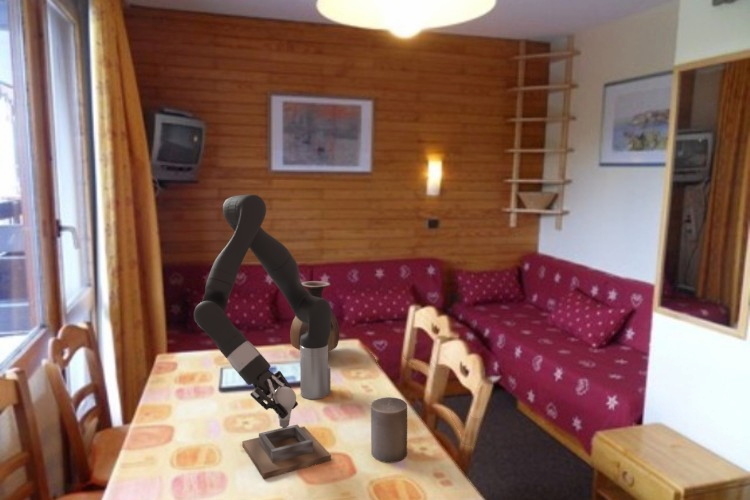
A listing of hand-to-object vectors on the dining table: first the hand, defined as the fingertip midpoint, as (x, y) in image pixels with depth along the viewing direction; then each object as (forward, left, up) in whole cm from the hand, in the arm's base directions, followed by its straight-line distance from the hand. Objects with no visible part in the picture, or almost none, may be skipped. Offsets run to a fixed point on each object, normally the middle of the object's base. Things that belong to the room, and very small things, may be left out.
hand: (290, 411), depth 142 cm
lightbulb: (+1, -1, -5) cm, 5 cm away
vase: (-36, -67, -12) cm, 77 cm away
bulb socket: (+1, -1, -12) cm, 12 cm away
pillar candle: (-23, +12, -12) cm, 28 cm away
